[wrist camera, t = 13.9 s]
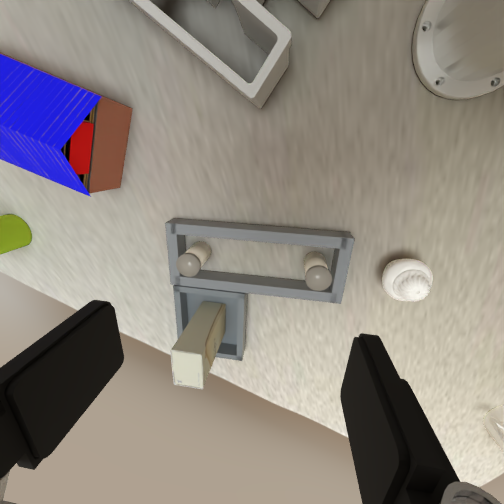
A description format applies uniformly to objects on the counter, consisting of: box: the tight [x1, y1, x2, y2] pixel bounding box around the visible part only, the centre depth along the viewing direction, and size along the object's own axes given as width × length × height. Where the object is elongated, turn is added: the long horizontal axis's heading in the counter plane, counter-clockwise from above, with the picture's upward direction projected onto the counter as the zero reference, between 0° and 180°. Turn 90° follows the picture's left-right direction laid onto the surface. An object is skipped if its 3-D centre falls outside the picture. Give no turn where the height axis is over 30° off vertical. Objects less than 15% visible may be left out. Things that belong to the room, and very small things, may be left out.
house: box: [0, 53, 132, 197], centre depth 30 cm, size 12×20×12 cm, turn 69°
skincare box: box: [171, 301, 226, 389], centre depth 38 cm, size 6×4×12 cm
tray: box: [173, 285, 247, 361], centre depth 43 cm, size 12×14×3 cm
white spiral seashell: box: [382, 258, 433, 302], centre depth 33 cm, size 6×6×7 cm
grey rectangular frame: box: [165, 218, 355, 304], centre depth 37 cm, size 27×10×3 cm, turn 87°
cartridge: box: [304, 252, 332, 291], centre depth 35 cm, size 3×3×6 cm
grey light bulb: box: [176, 241, 211, 277], centre depth 37 cm, size 3×3×6 cm
